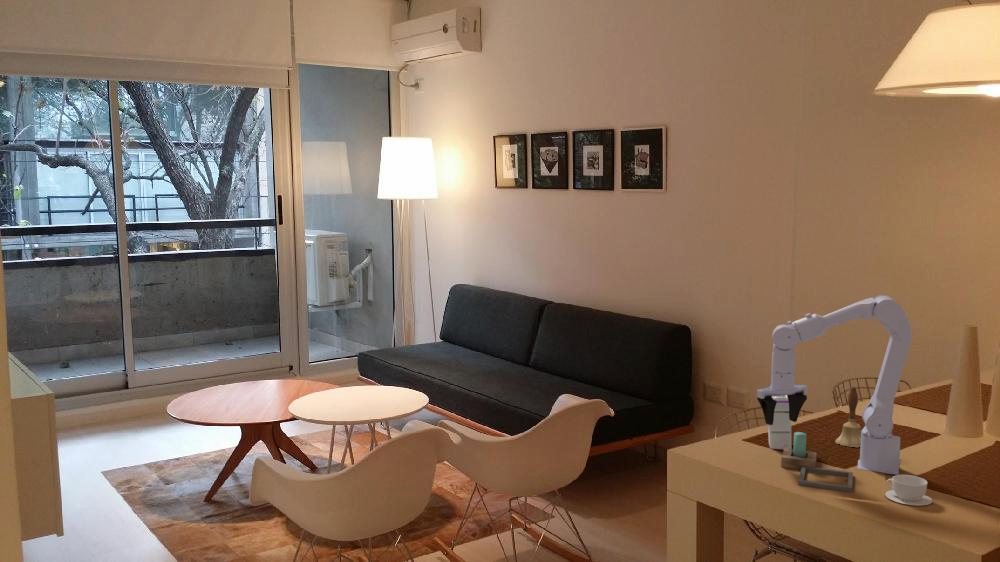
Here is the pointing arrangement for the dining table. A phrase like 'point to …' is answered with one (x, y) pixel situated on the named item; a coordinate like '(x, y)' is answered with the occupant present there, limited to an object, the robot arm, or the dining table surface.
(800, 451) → the dowel
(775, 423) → the syrup box
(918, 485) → the teacup
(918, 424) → the dining table surface
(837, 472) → the tray
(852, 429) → the hand bell
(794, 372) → the robot arm
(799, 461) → the block
